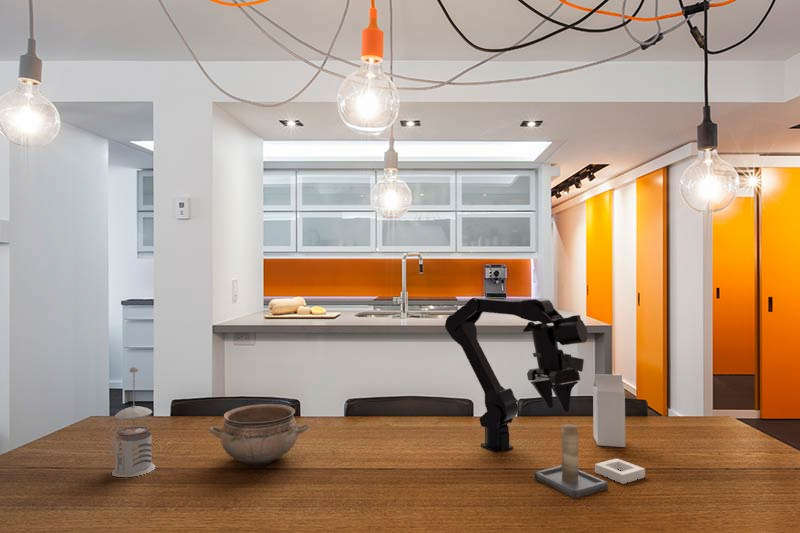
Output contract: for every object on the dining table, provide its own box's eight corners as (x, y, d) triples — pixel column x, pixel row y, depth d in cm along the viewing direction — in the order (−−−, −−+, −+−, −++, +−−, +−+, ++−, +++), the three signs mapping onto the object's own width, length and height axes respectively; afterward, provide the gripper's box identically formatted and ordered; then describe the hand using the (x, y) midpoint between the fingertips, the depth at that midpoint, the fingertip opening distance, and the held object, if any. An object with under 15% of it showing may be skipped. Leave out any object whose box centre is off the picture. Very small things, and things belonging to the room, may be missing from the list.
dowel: (559, 477, 118) (559, 424, 118) (574, 476, 118) (574, 424, 118) (565, 483, 114) (564, 428, 115) (580, 482, 114) (580, 428, 115)
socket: (595, 472, 123) (594, 463, 123) (616, 466, 126) (616, 458, 126) (622, 483, 116) (622, 474, 116) (645, 477, 119) (645, 468, 120)
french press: (165, 465, 128) (165, 364, 128) (126, 483, 117) (126, 373, 117) (134, 461, 131) (134, 362, 131) (93, 478, 120) (94, 370, 120)
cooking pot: (312, 446, 141) (312, 402, 141) (306, 473, 122) (306, 421, 123) (218, 450, 139) (218, 404, 139) (198, 477, 120) (198, 425, 120)
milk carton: (625, 447, 140) (624, 377, 140) (597, 446, 141) (597, 376, 142) (619, 439, 147) (619, 372, 147) (593, 437, 148) (592, 371, 149)
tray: (534, 478, 119) (534, 472, 119) (566, 470, 124) (566, 464, 124) (574, 498, 108) (574, 491, 108) (607, 488, 113) (607, 481, 113)
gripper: (593, 341, 123) (607, 408, 121) (559, 343, 142) (571, 400, 139) (550, 348, 122) (563, 416, 119) (521, 349, 140) (532, 408, 138)
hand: (558, 409), depth 129 cm, fingers open, 9 cm apart
